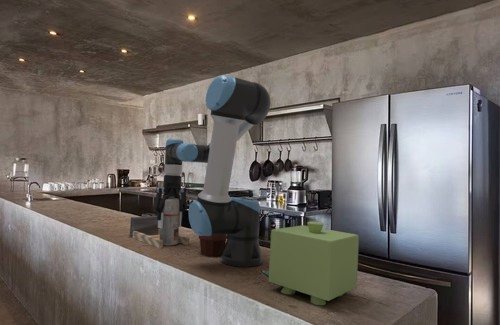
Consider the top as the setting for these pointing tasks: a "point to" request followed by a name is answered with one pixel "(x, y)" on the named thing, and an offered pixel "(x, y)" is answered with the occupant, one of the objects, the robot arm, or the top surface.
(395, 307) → the top surface
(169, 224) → the grey cylinder
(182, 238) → the track
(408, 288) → the top surface
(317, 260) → the container
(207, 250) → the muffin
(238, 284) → the top surface
